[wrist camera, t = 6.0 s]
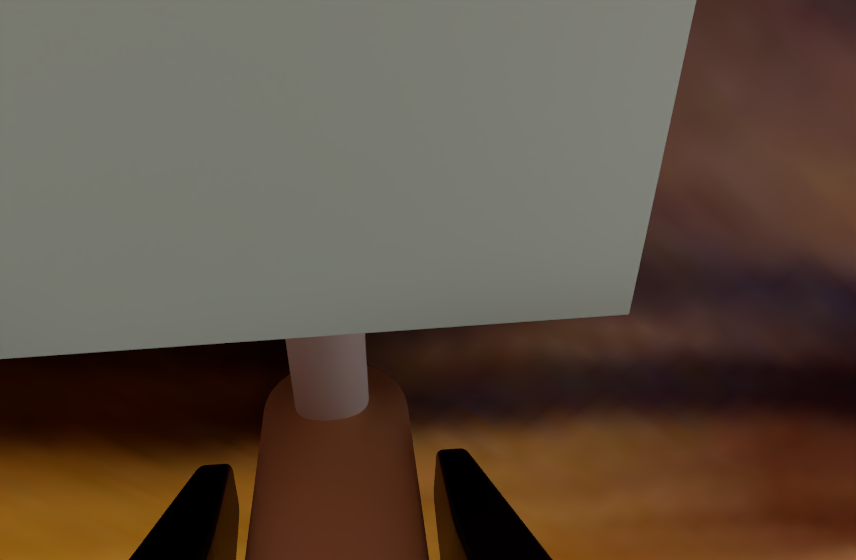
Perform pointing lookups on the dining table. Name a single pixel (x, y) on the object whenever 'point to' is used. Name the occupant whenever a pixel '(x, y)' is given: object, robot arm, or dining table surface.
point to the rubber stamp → (325, 203)
